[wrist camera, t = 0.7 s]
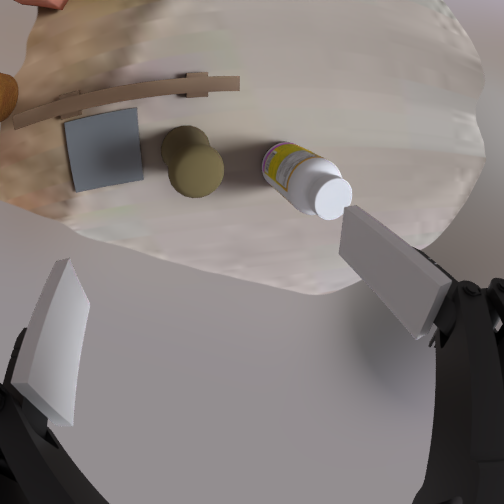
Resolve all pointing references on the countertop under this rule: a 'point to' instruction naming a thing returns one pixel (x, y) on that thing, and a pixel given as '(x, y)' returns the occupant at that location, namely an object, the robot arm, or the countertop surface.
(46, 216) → the countertop surface
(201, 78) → the screen
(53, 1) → the pink cube teapot
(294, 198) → the supplement bottle
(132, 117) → the coaster
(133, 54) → the countertop surface
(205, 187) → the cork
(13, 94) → the disposable coffee cup
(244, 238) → the countertop surface
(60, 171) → the countertop surface
